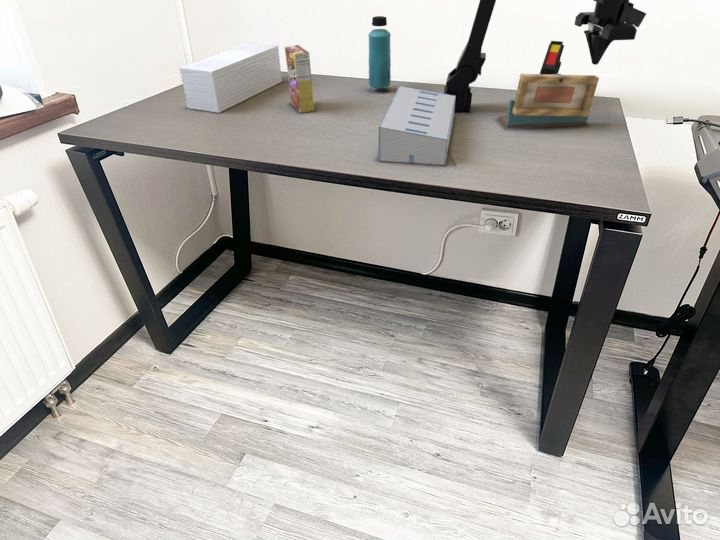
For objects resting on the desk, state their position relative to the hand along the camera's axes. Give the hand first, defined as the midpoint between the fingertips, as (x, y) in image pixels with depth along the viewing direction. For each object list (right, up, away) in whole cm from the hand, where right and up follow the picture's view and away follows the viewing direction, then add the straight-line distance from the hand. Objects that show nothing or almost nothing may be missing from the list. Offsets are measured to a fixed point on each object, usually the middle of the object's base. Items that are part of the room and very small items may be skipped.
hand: (594, 64), depth 126 cm
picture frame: (-12, -13, -2) cm, 17 cm away
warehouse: (-43, -19, -2) cm, 47 cm away
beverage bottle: (-51, +4, +29) cm, 59 cm away
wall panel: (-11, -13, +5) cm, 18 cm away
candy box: (-73, -5, +17) cm, 75 cm away
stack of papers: (-93, +2, +28) cm, 97 cm away
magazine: (-6, -3, +18) cm, 19 cm away
